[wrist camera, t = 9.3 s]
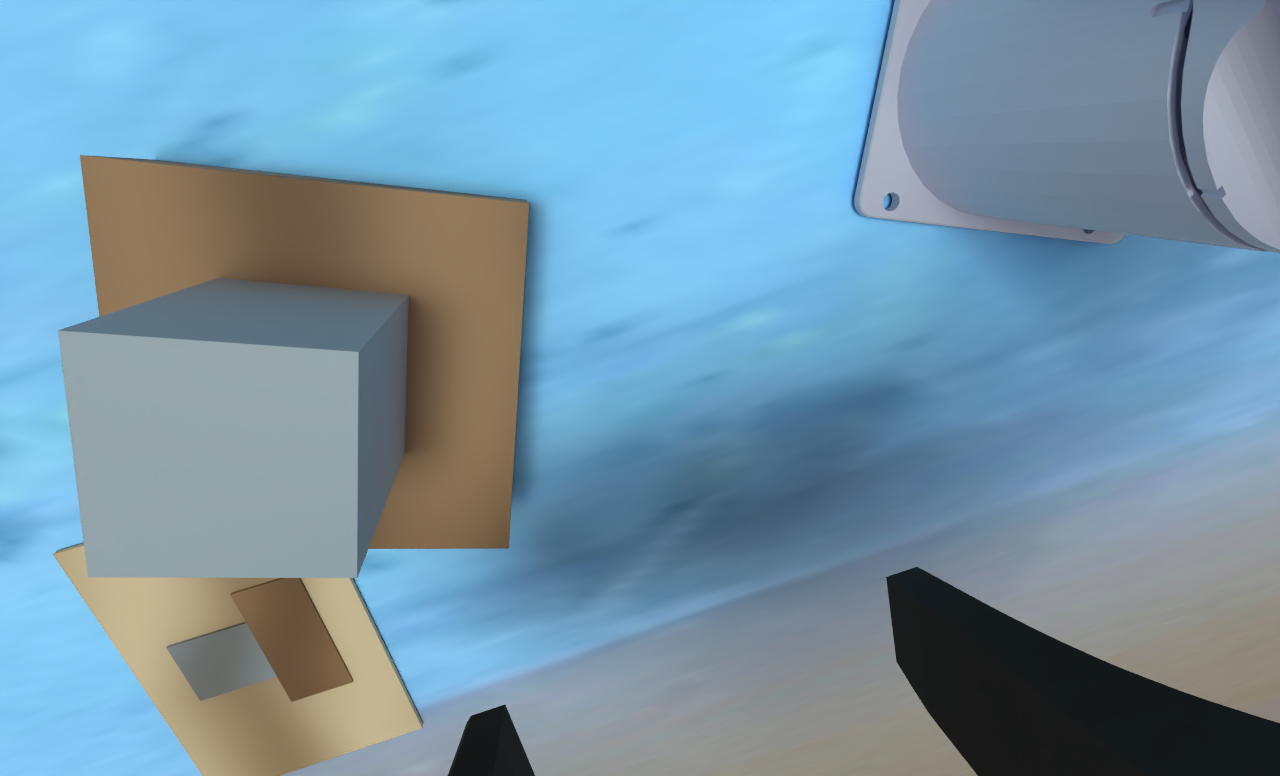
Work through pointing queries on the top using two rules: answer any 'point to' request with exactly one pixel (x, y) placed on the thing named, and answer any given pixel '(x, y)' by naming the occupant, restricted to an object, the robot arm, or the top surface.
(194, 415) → the gray brick
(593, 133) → the top surface
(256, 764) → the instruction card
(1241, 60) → the robot arm
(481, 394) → the walnut slab
